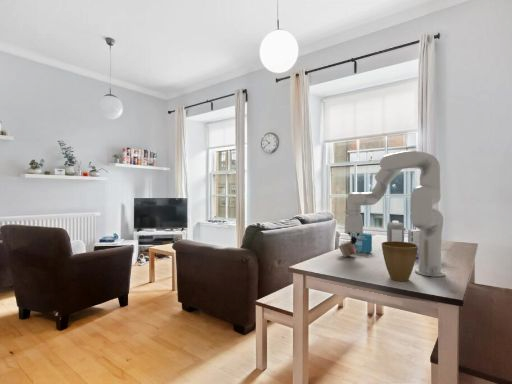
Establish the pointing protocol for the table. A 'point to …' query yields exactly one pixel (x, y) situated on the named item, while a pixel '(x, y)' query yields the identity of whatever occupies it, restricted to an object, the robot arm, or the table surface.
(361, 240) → the data package
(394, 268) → the plant pot
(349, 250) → the beige cube
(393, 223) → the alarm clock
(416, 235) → the candy box
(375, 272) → the table surface
